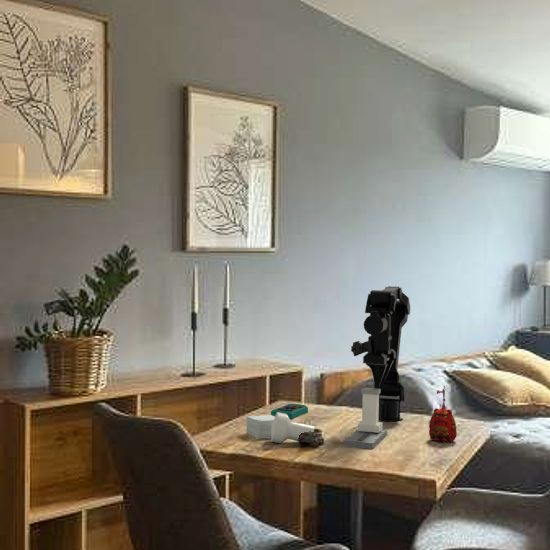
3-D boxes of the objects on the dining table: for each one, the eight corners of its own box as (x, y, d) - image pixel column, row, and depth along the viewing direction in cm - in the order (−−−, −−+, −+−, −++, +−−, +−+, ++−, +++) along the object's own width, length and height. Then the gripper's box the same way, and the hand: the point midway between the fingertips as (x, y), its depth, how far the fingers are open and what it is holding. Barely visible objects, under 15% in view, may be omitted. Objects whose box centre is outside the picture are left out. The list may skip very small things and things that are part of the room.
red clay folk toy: (426, 441, 220) (428, 387, 220) (431, 436, 227) (432, 384, 227) (454, 444, 218) (456, 389, 217) (458, 439, 224) (459, 386, 224)
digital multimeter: (309, 413, 262) (309, 404, 262) (291, 421, 248) (291, 411, 248) (288, 411, 265) (288, 402, 265) (269, 418, 251) (270, 409, 251)
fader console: (359, 432, 230) (359, 427, 230) (386, 435, 227) (386, 429, 227) (343, 446, 213) (343, 439, 213) (373, 448, 210) (373, 442, 210)
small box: (270, 431, 230) (270, 414, 230) (282, 437, 223) (282, 419, 223) (245, 433, 226) (245, 415, 226) (257, 439, 219) (257, 420, 219)
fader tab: (361, 427, 228) (362, 387, 228) (382, 429, 226) (383, 388, 226) (357, 430, 224) (358, 389, 223) (378, 432, 222) (379, 391, 221)
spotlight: (268, 434, 220) (275, 407, 218) (308, 442, 221) (315, 415, 219) (269, 446, 212) (276, 418, 210) (310, 454, 213) (317, 427, 211)
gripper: (361, 329, 247) (360, 379, 248) (346, 333, 230) (345, 387, 230) (396, 330, 244) (395, 381, 244) (384, 335, 226) (383, 390, 226)
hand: (379, 385), depth 236 cm, fingers open, 6 cm apart
